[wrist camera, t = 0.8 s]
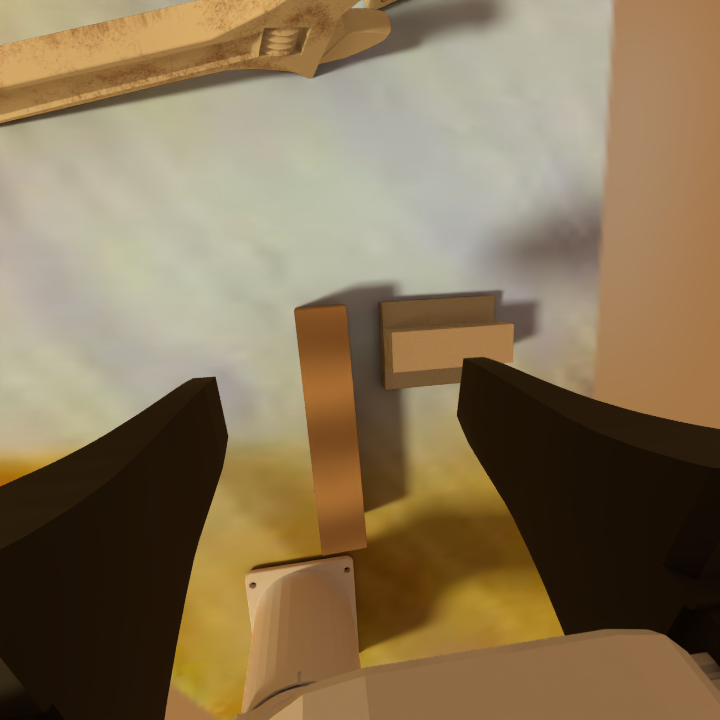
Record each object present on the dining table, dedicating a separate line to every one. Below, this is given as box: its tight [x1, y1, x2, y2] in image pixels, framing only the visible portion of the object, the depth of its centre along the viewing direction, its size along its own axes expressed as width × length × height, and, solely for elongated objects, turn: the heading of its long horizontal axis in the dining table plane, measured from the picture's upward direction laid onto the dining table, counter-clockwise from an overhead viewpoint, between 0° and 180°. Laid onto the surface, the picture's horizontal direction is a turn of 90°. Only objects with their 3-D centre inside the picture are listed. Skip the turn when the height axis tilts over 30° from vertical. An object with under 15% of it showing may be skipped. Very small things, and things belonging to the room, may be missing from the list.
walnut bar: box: [294, 304, 367, 556], centre depth 25 cm, size 16×3×4 cm, turn 5°
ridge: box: [379, 296, 514, 390], centre depth 25 cm, size 6×8×4 cm
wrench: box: [0, 0, 391, 123], centre depth 19 cm, size 8×2×30 cm
